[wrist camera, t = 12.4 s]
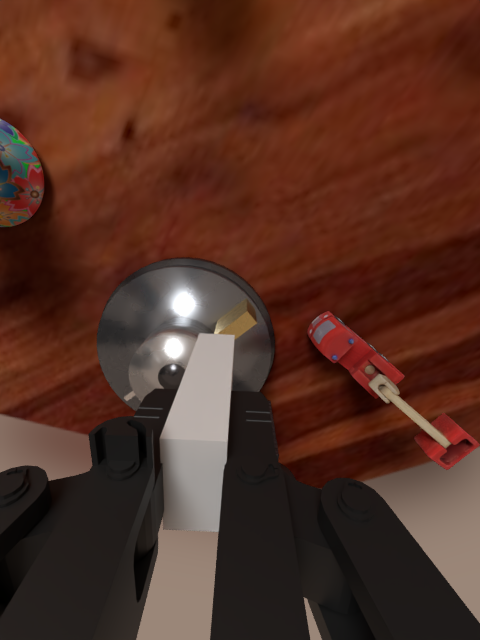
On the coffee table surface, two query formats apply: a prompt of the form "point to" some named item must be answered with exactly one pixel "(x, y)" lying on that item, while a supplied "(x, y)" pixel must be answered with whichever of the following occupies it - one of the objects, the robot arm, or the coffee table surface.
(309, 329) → the toy fire truck
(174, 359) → the cover
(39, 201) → the mug
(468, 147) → the coffee table surface
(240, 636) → the robot arm
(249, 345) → the turntable
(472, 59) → the coffee table surface
